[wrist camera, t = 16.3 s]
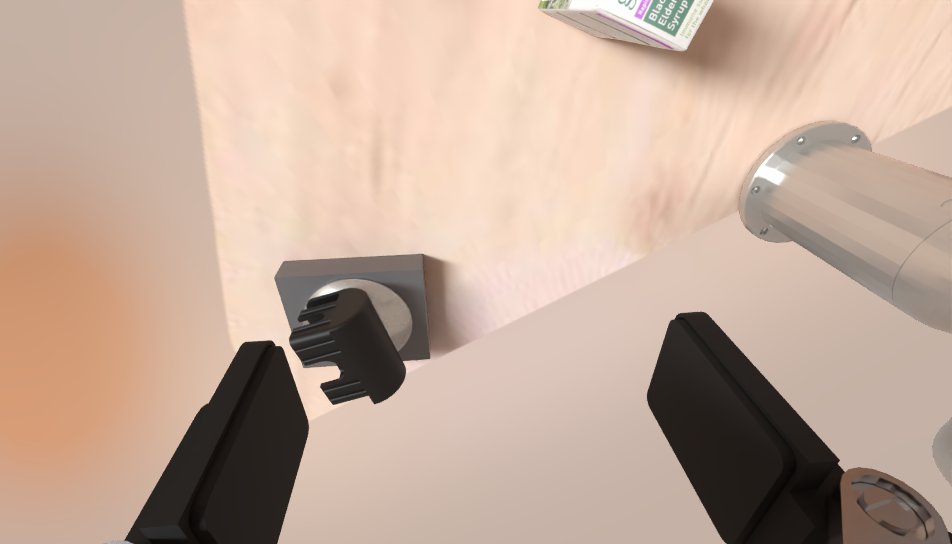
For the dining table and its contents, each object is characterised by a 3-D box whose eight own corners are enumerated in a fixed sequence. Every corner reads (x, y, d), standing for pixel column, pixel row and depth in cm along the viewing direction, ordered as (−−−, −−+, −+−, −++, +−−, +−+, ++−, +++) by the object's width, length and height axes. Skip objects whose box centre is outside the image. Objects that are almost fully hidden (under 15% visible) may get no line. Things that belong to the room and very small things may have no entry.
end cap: (408, 348, 45) (405, 397, 40) (347, 365, 46) (335, 415, 40) (371, 276, 40) (362, 320, 34) (303, 295, 40) (282, 343, 35)
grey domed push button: (422, 254, 43) (421, 271, 40) (430, 341, 49) (430, 361, 47) (283, 261, 42) (272, 279, 39) (310, 349, 48) (302, 370, 46)
